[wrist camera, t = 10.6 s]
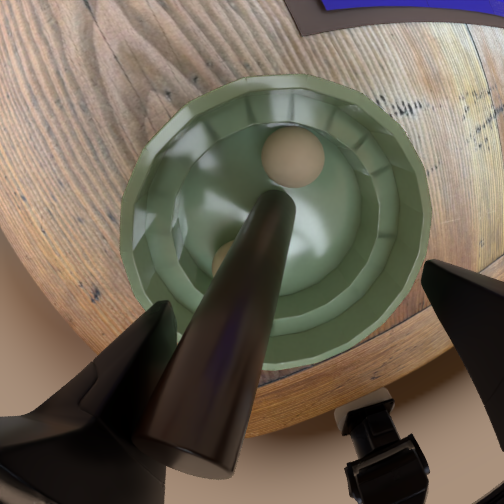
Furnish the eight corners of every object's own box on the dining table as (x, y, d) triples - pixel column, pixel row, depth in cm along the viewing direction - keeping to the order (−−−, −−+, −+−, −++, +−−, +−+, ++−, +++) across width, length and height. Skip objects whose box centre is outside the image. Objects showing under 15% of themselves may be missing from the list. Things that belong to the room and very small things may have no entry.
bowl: (374, 296, 20) (406, 341, 15) (178, 326, 19) (169, 381, 15) (381, 89, 14) (434, 85, 9) (127, 111, 13) (87, 109, 9)
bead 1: (255, 272, 18) (261, 310, 16) (207, 264, 17) (206, 303, 15) (272, 234, 16) (280, 271, 14) (218, 223, 15) (218, 261, 13)
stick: (292, 230, 16) (230, 486, 5) (253, 223, 16) (142, 457, 5) (299, 193, 15) (235, 464, 4) (257, 185, 15) (116, 423, 4)
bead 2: (308, 203, 15) (323, 185, 12) (251, 184, 14) (253, 162, 12) (321, 154, 15) (338, 128, 12) (269, 135, 15) (275, 106, 12)
